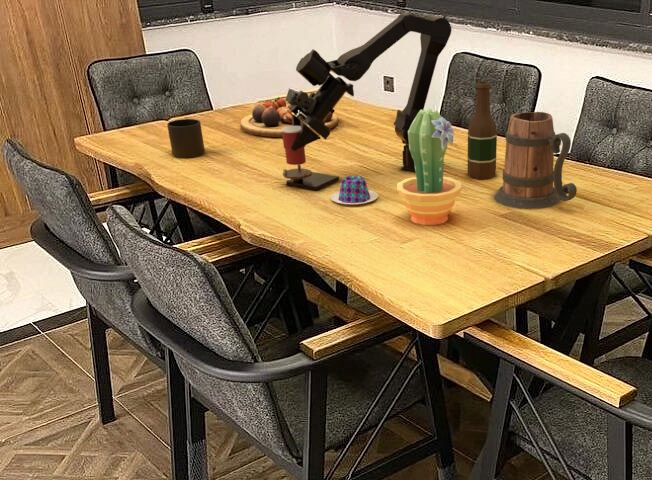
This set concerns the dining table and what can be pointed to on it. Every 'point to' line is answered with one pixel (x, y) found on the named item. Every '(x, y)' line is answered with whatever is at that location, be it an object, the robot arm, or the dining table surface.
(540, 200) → the tankard
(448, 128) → the potted cactus
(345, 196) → the pudding
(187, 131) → the dark brown cup
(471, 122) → the beer bottle
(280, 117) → the wooden plate
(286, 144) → the red cup with lid
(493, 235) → the dining table surface
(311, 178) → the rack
